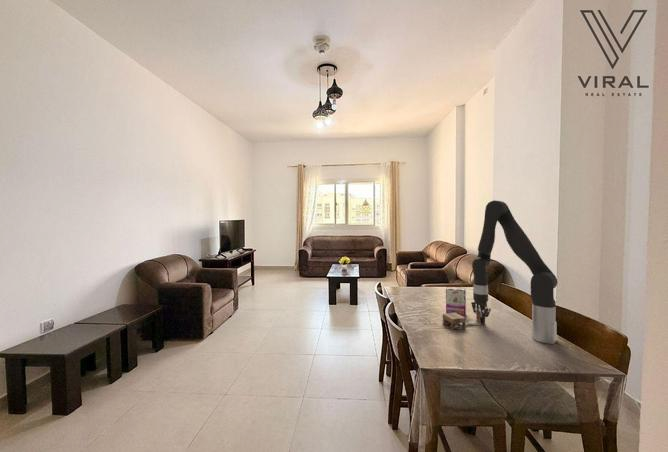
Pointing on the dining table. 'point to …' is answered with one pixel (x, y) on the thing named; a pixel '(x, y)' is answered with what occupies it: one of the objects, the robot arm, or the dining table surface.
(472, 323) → the brown l-shaped stand
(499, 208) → the robot arm
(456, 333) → the dining table surface
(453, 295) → the candy bar box
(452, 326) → the walnut cabinet
